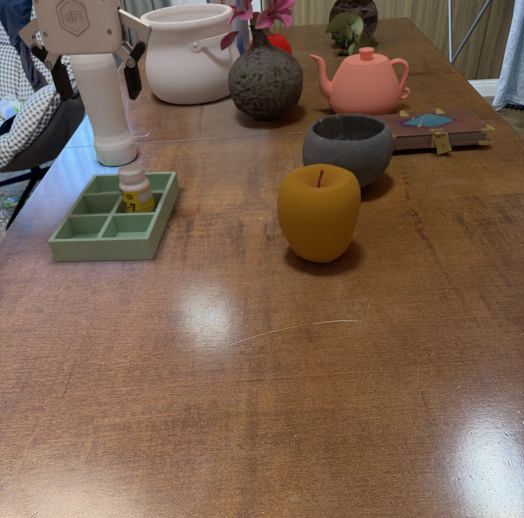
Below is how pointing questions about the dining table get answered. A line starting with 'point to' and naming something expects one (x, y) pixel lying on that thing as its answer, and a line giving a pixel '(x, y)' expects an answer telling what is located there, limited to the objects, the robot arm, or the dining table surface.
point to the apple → (319, 210)
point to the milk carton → (237, 23)
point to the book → (437, 129)
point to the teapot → (363, 84)
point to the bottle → (104, 107)
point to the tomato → (278, 41)
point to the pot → (189, 53)
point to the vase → (264, 66)
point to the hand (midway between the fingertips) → (101, 97)
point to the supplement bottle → (135, 189)
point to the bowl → (350, 145)
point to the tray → (114, 222)
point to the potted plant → (353, 24)
